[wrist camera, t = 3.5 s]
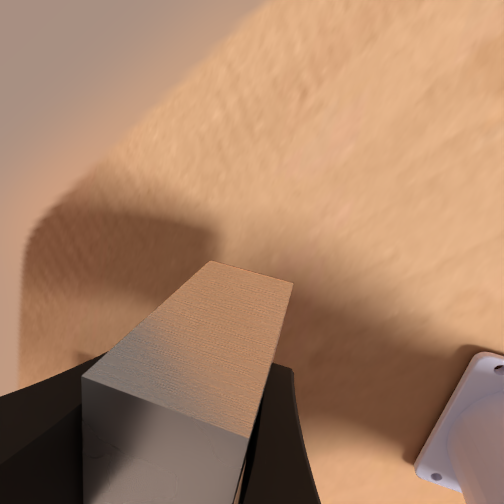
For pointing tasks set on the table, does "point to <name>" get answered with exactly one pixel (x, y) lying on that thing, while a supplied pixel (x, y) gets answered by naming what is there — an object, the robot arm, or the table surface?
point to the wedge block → (183, 393)
